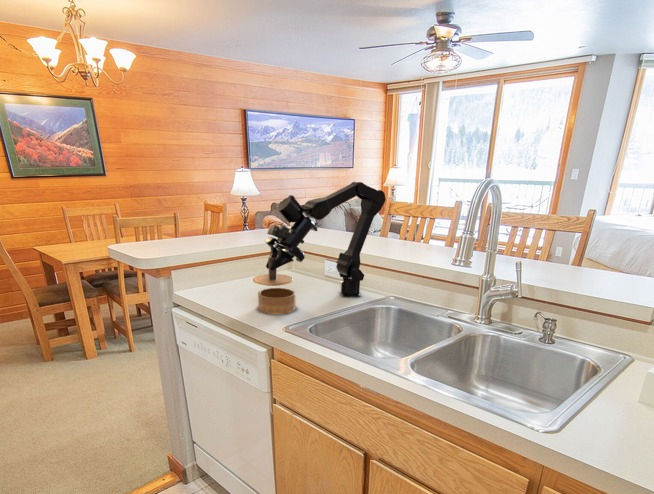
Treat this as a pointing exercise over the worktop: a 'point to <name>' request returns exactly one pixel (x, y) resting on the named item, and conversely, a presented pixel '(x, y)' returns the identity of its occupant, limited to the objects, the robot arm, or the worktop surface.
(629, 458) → the worktop surface
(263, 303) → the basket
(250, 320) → the worktop surface
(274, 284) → the lid
